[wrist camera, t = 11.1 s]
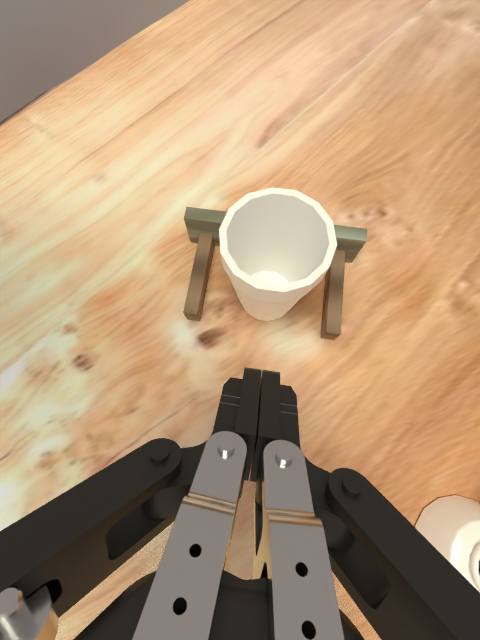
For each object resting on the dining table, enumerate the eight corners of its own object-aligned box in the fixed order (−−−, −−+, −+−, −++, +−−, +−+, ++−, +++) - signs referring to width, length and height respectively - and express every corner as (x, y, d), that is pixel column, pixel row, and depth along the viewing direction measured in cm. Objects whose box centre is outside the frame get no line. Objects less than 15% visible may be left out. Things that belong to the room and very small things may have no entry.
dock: (347, 341, 36) (363, 330, 31) (174, 317, 37) (164, 302, 32) (351, 251, 40) (366, 229, 35) (193, 231, 41) (186, 206, 36)
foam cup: (309, 266, 39) (340, 195, 27) (302, 339, 36) (333, 299, 24) (232, 255, 40) (228, 182, 27) (220, 327, 37) (208, 281, 24)
